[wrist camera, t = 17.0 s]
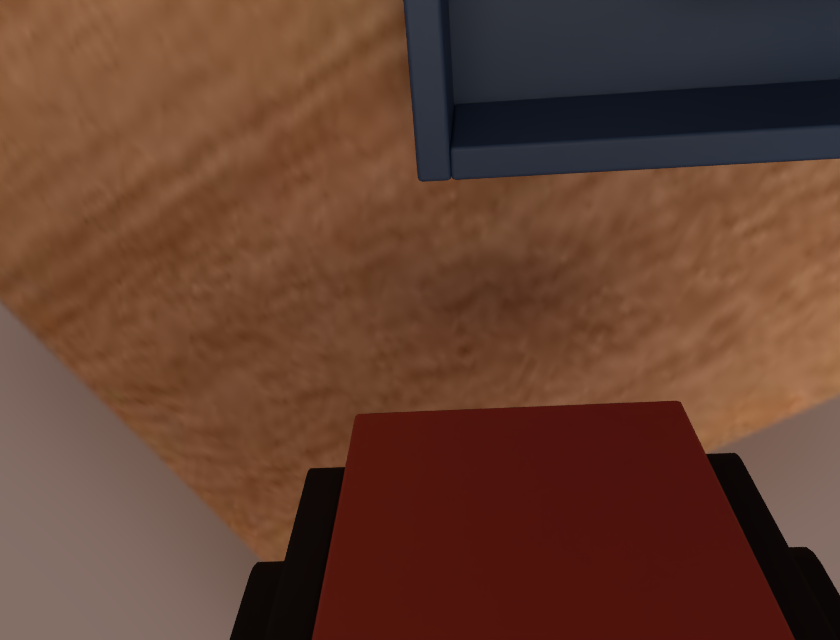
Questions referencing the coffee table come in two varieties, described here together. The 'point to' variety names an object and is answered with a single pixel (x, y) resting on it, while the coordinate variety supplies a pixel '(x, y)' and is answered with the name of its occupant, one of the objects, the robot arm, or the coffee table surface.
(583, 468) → the red block
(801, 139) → the blue bin
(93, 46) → the coffee table surface
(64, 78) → the coffee table surface
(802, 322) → the coffee table surface
